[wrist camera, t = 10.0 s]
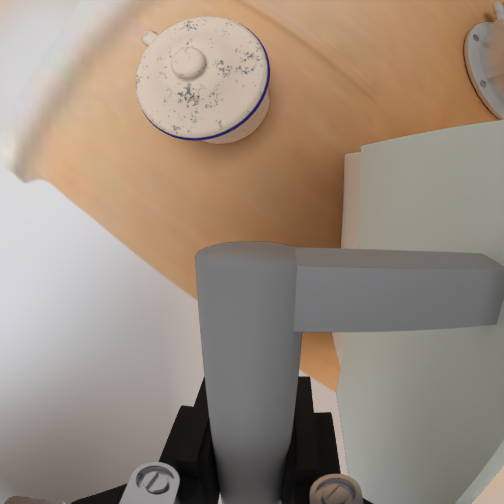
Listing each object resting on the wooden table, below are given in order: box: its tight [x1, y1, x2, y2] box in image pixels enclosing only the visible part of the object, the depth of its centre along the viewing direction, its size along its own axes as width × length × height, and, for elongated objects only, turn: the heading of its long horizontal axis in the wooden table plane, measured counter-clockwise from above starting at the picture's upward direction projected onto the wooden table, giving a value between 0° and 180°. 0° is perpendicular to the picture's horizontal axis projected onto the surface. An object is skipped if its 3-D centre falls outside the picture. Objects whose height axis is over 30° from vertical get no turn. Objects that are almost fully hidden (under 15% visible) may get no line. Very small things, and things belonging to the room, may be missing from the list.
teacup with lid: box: [136, 16, 270, 144], centre depth 20 cm, size 12×9×12 cm
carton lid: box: [195, 120, 504, 504], centre depth 13 cm, size 18×16×7 cm
